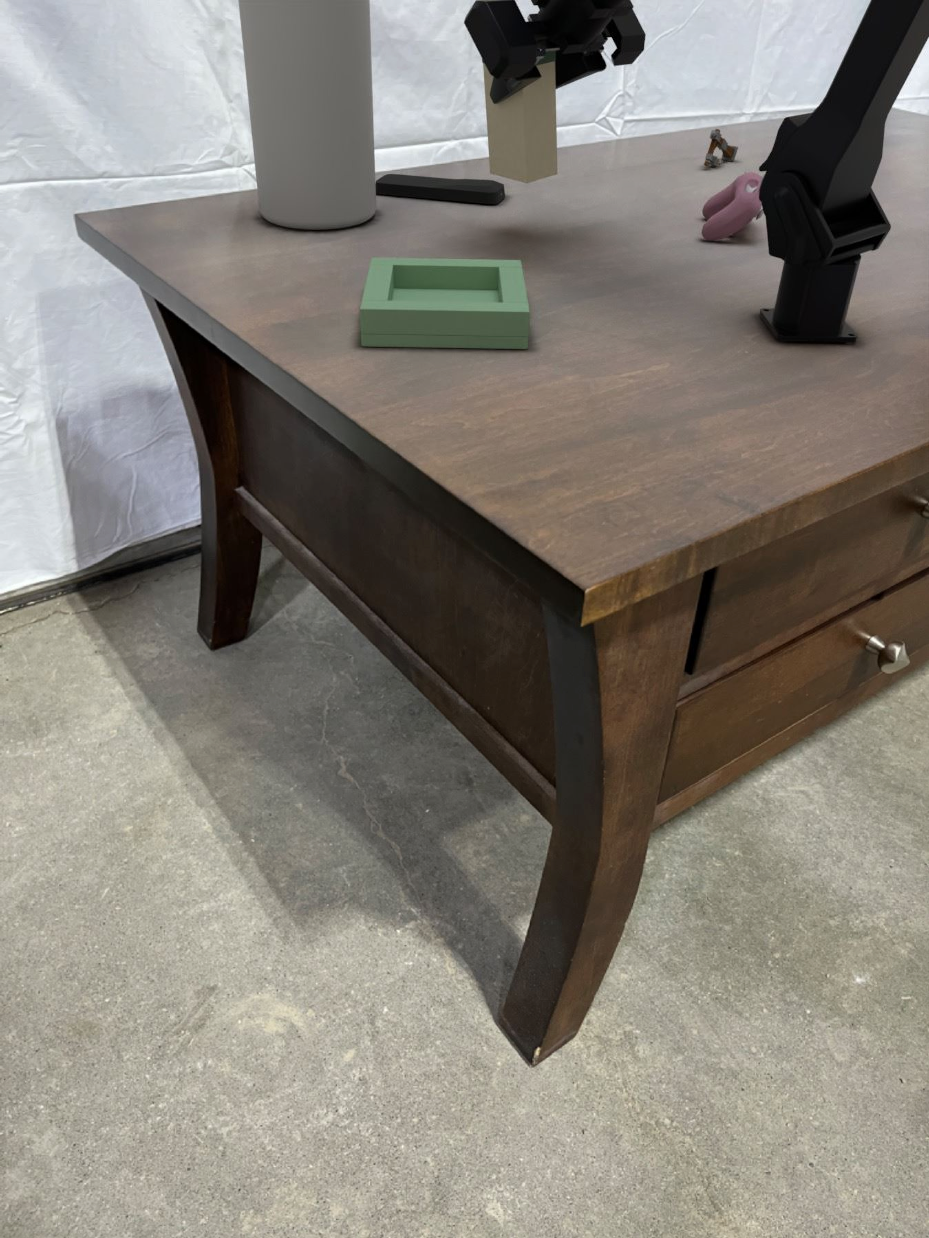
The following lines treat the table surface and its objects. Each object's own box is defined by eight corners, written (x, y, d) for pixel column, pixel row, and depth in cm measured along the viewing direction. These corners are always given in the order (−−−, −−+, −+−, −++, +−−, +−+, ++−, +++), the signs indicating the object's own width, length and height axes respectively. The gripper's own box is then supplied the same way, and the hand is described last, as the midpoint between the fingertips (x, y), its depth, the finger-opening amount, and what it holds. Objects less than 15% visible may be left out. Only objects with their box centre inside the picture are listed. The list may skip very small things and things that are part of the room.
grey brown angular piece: (697, 162, 128) (708, 125, 126) (715, 179, 134) (726, 143, 133) (710, 164, 127) (721, 126, 126) (728, 181, 134) (738, 145, 132)
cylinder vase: (358, 197, 113) (346, -67, 98) (391, 226, 104) (384, -61, 89) (249, 205, 110) (220, -68, 95) (274, 236, 100) (246, -62, 85)
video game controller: (734, 260, 102) (777, 198, 98) (697, 236, 102) (739, 173, 97) (732, 234, 110) (773, 176, 106) (698, 212, 109) (737, 152, 105)
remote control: (372, 198, 115) (496, 205, 112) (371, 182, 114) (496, 188, 111) (386, 189, 119) (507, 195, 115) (385, 173, 118) (507, 178, 114)
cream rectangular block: (558, 174, 99) (555, 24, 90) (526, 184, 97) (520, 32, 89) (520, 164, 103) (513, 20, 94) (489, 173, 101) (479, 27, 93)
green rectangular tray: (527, 349, 77) (530, 311, 75) (361, 346, 77) (359, 308, 75) (519, 294, 88) (521, 260, 86) (372, 291, 87) (371, 257, 86)
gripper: (636, -114, 88) (542, 19, 101) (481, -118, 78) (399, 29, 91) (693, -3, 88) (591, 115, 101) (545, 6, 78) (453, 136, 91)
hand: (511, 97), depth 96 cm, fingers closed on cream rectangular block, 5 cm apart
